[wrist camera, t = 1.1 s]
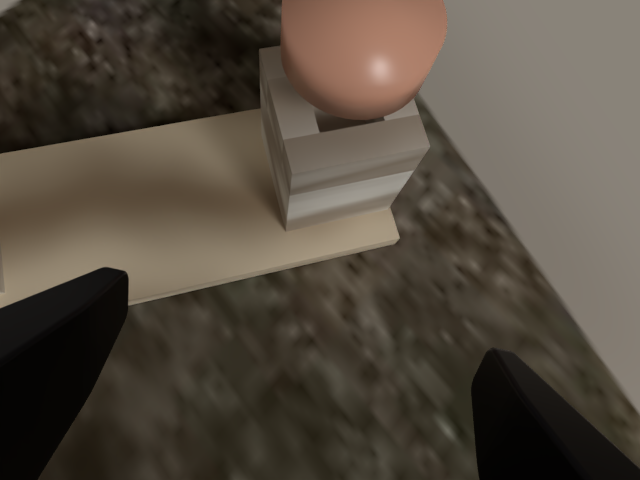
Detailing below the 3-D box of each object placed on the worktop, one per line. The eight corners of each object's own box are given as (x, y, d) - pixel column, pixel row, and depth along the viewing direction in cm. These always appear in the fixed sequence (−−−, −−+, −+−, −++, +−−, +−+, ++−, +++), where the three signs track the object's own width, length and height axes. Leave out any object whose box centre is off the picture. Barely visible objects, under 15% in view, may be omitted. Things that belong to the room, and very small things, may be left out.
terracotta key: (430, 131, 17) (469, 69, 13) (297, 156, 16) (305, 97, 13) (391, 18, 18) (418, -64, 15) (265, 37, 17) (265, -45, 14)
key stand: (394, 243, 24) (447, 184, 17) (-112, 361, 20) (-316, 347, 13) (350, 102, 26) (382, -4, 19) (-118, 186, 22) (-299, 93, 15)
